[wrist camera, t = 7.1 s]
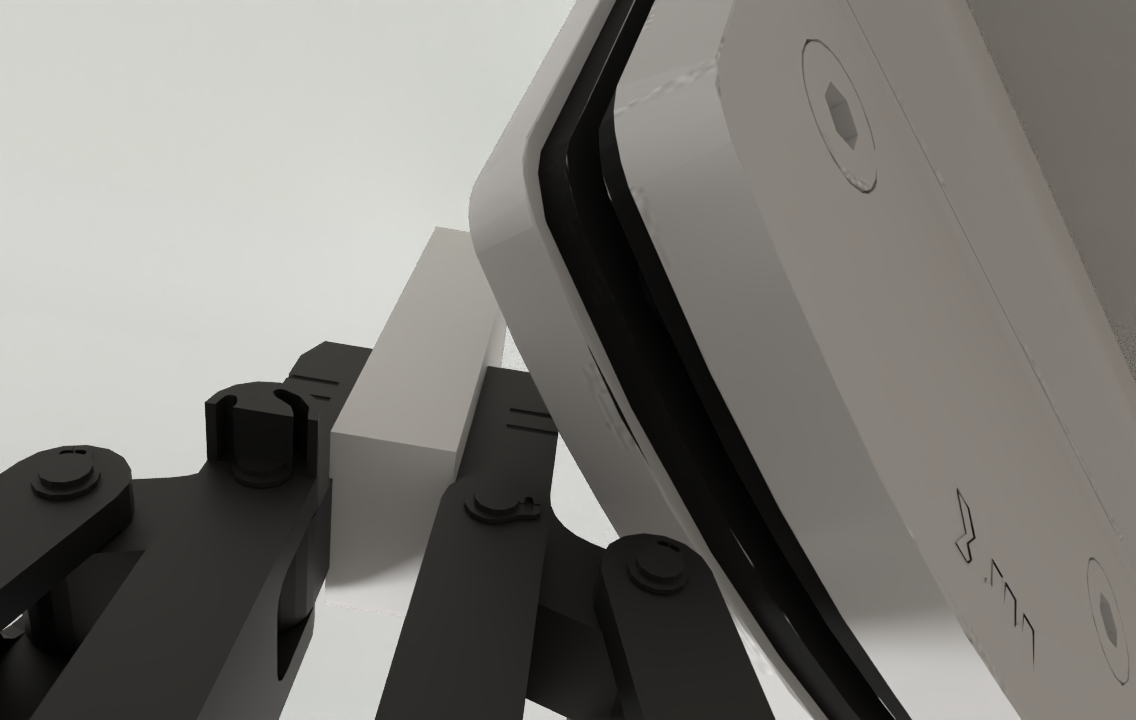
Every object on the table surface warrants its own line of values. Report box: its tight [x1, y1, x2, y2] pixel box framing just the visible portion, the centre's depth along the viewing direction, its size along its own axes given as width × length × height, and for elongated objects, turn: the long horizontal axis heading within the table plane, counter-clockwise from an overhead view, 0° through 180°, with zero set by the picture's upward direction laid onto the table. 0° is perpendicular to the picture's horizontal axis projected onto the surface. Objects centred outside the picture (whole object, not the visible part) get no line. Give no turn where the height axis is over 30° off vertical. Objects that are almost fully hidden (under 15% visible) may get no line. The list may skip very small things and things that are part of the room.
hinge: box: [468, 0, 1136, 720], centre depth 15 cm, size 17×5×10 cm, turn 34°
